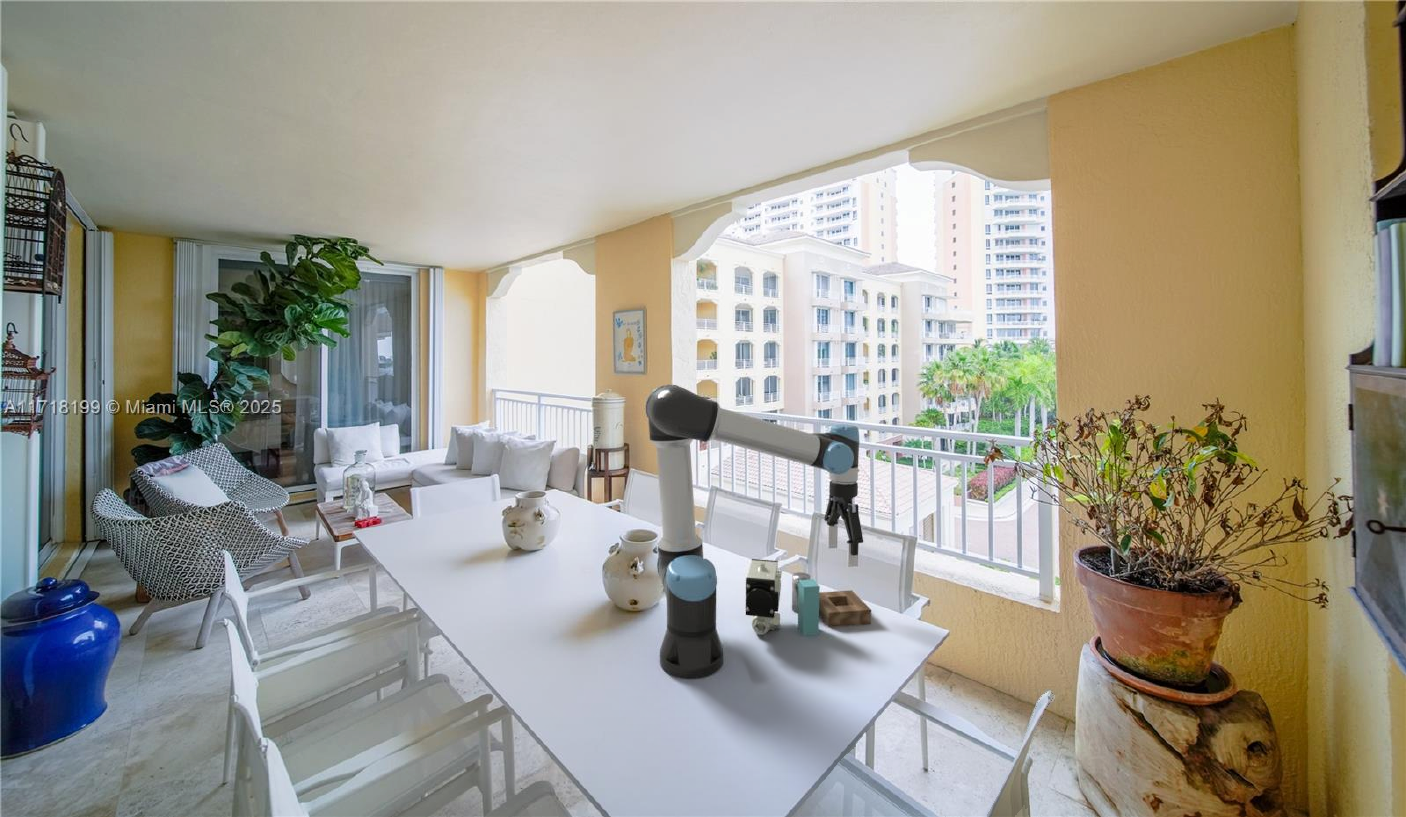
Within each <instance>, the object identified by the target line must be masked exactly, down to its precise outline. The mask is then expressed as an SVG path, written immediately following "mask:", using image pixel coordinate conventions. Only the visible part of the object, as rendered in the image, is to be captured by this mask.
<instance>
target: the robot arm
mask: <svg viewBox="0 0 1406 817" xmlns="http://www.w3.org/2000/svg"><path fill="white" fill-rule="evenodd" d="M645 414H646V417H647V420H648V421H647V422H648V433H649V441H650V442H651V443H653V445H654V446H655V447H656V460H657V461H656V462H657V472H658V487H659V498H660V500H659V501H660V516H661V526H662V529H661V530H662V537H661V538H660V540H659V541H658V542H657V553H658V554H657V555H658V558H657V563H656V568H657V573H658V574H657V575H658V576H659V578H660V582H661V584H662V587H663V590H664V594H665V597H666V630H665V634H664V636H663V640H662V643H661V646H660V649H659V665H660V667H661V668H662V670H663V671H664V672H666V673H668V674H669V675H671V676H673V677H676V678H680V679H685V680H686V679H687V680H688V679H690V680H692V679H694V680H695V679H701V678H705V677H708V676H711V675H713V674H715V673H716V672H719V670H720V669H721V668H722V667H723V664H724V648H723V645H722V642H721V639H720V636H719V633H718V630H717V585H718V576H717V571H716V570H717V569H716V566H715V565H714V564H713V563H712V561H710V560H709V559H708V558H704V545H703V539H702V538H701V537H700V536H699V535H698V534H697V532H696V531H697V530H696V528H697V526H696V512H695V501H694V500H695V499H694V486H693V484H694V483H693V471H692V470H693V469H692V453H691V452H692V450H691V444H692V442H693V441H694V440H696V441H700V442H704V443H709V442H710V441H716V442H721V443H725V444H728V445H732V446H735V447H739V448H744V449H747V450H751V451H754V452H756V453H757V452H758V453H761V454H766V455H769V456H771V457H772V456H773V457H775V458H776V457H777V458H781V459H785V460H788V461H791V462H794V463H799V464H802V465H806V466H809V467H812V468H816V469H820V470H823V471H826V472H827V473H829V478H828V479H829V480H830V481H829V488H828V489H829V492H828V494H829V495H828V496H829V497H828V503H827V506H826V510H825V515H824V518H823V519H824V522H826V525H827V541H826V542H827V545H826V547H827V549H829V550H830V549H837V548H838V530H839V529H838V528H839V526H838V525H839V520H840V517H841V519H842V520H843V522H844V526H845V529H846V530H845V531H846V534H847V536H848V537H847V538H848V540H847V541H846V544H847V551H846V552H847V553H846V555H847V556H846V558H847V559H846V567H848V568H851V567H853V568H854V567H858V566H859V544H862V543H864V538H863V532H862V526H861V519H860V515H859V505H858V503H857V504H854V502H853V499H854V498H857V496H858V494H859V493H858V490H859V484H858V481H859V472H860V469H859V457H860V456H859V453H860V442H861V441H860V432H859V428H858V427H857V426H856V425H854V424H845V423H843V424H842V423H841V424H839V423H838V424H833V425H831V426H830V430H829V432H824V433H823V432H818V433H817V432H816V433H815V432H814V433H810V432H805V431H802V430H798V429H796V428H792V427H788V426H785V425H783V424H782V425H781V424H778V423H774V422H771V421H768V420H764V419H760V418H757V417H753V416H751V415H747V414H743V413H739V412H735V411H732V410H729V409H726V408H722V407H721V406H720V404H719V402H717V401H713V400H710V399H707V398H705V397H702V396H701V395H698V394H696V393H694V392H692V391H691V390H689V389H687V388H685V387H682V386H679V385H677V384H666V385H661V386H658V387H657V388H655V389H654V390H653V391H652V392H651V393H650V394H649V396H648V398H647V400H646V402H645Z"/></svg>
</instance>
